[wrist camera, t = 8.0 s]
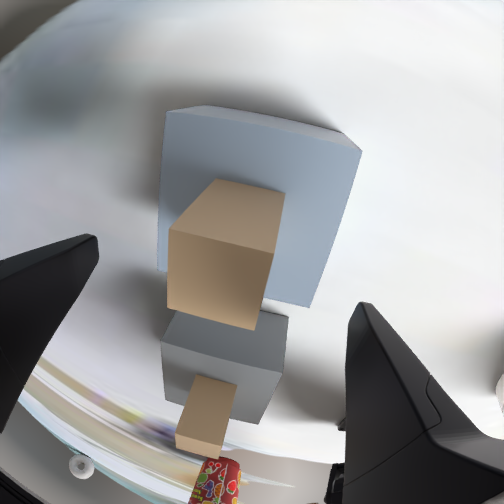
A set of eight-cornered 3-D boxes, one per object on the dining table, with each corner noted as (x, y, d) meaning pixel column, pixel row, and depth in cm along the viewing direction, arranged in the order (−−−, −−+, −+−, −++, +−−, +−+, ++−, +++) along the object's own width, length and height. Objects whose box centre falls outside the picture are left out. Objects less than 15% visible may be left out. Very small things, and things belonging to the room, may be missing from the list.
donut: (77, 452, 73) (68, 472, 64) (73, 448, 71) (63, 469, 63) (99, 462, 72) (90, 484, 63) (95, 459, 70) (85, 481, 61)
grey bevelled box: (266, 376, 27) (248, 475, 18) (184, 355, 27) (146, 447, 18) (288, 317, 23) (273, 440, 14) (186, 291, 23) (130, 400, 14)
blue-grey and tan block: (309, 254, 20) (306, 387, 11) (190, 226, 20) (111, 334, 11) (344, 133, 16) (399, 189, 7) (205, 104, 16) (93, 128, 7)
